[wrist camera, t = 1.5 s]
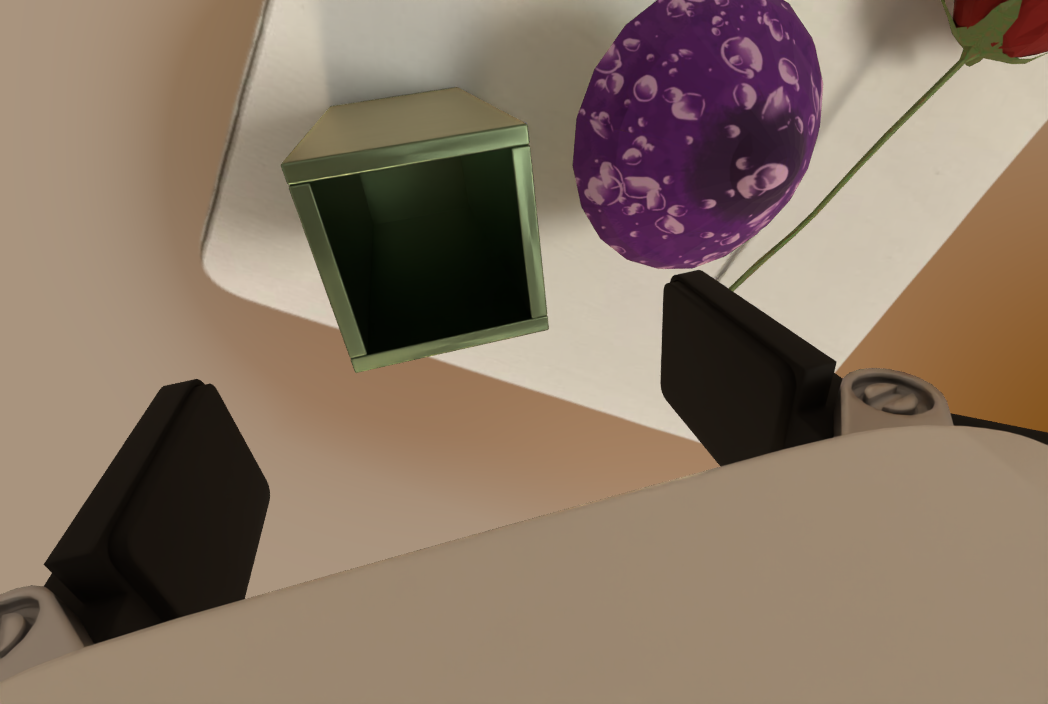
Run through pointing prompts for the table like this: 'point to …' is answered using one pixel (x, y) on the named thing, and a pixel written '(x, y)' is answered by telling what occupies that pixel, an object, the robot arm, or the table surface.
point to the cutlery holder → (421, 224)
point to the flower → (983, 32)
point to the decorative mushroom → (697, 128)
